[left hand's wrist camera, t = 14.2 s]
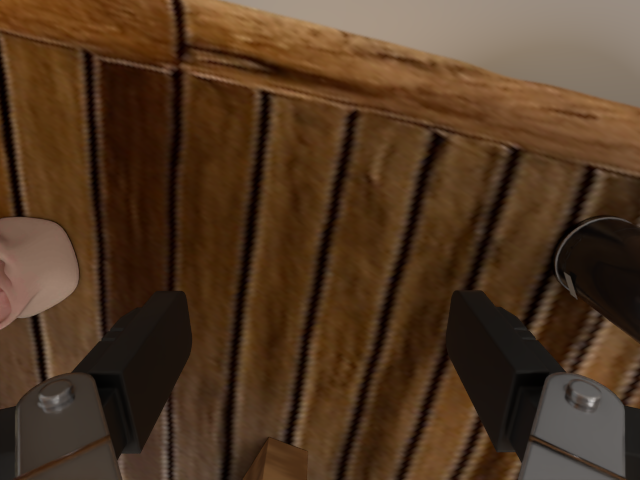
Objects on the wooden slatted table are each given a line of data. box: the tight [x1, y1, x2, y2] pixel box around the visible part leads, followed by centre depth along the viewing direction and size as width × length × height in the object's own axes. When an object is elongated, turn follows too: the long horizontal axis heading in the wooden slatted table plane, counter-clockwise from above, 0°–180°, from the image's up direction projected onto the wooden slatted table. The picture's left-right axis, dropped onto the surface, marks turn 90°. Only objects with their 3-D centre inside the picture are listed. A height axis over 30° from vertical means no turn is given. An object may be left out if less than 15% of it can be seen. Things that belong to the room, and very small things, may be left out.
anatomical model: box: [0, 217, 79, 329], centre depth 41 cm, size 13×4×12 cm
